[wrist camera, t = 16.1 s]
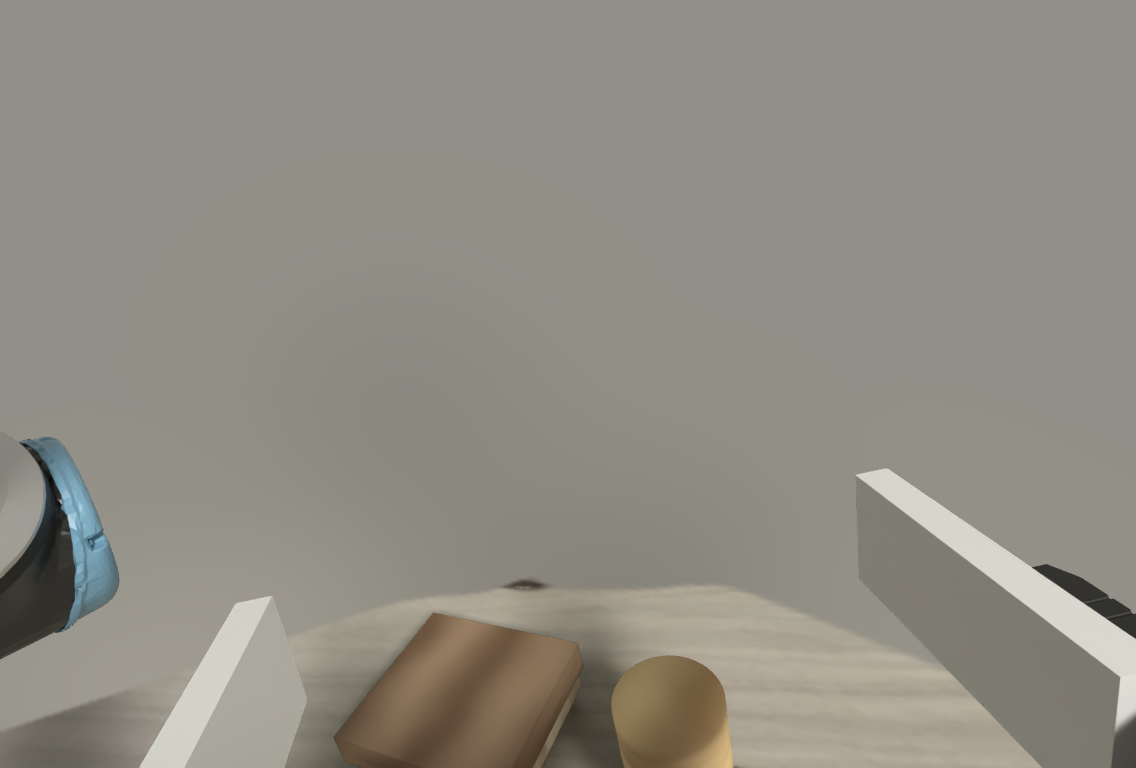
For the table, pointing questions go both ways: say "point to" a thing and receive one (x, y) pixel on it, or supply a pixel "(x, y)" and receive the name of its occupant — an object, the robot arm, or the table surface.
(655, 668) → the roller
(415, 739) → the slab
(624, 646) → the table surface
